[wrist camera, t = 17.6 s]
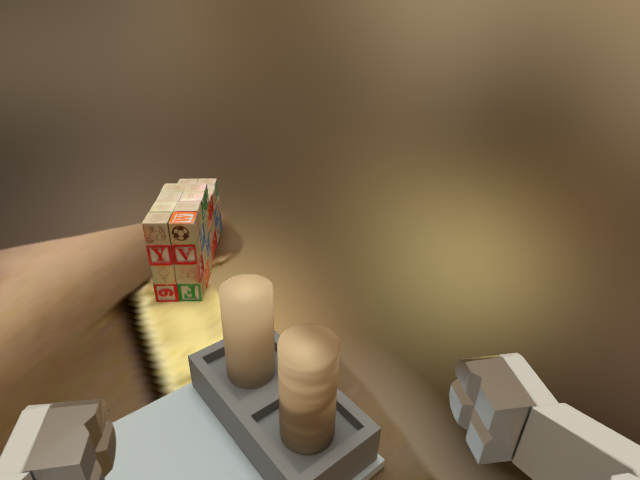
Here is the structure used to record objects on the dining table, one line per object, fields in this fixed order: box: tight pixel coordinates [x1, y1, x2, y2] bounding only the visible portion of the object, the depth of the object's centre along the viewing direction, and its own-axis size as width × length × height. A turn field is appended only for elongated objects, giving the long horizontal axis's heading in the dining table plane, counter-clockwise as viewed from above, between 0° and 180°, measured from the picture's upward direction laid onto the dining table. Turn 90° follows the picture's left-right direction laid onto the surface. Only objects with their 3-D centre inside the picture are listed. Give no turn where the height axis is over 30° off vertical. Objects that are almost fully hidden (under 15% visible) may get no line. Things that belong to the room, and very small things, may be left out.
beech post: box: [277, 324, 340, 455], centre depth 38 cm, size 5×5×10 cm
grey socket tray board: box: [105, 274, 385, 480], centre depth 38 cm, size 24×19×14 cm
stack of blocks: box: [142, 179, 222, 302], centre depth 69 cm, size 21×6×12 cm, turn 4°
